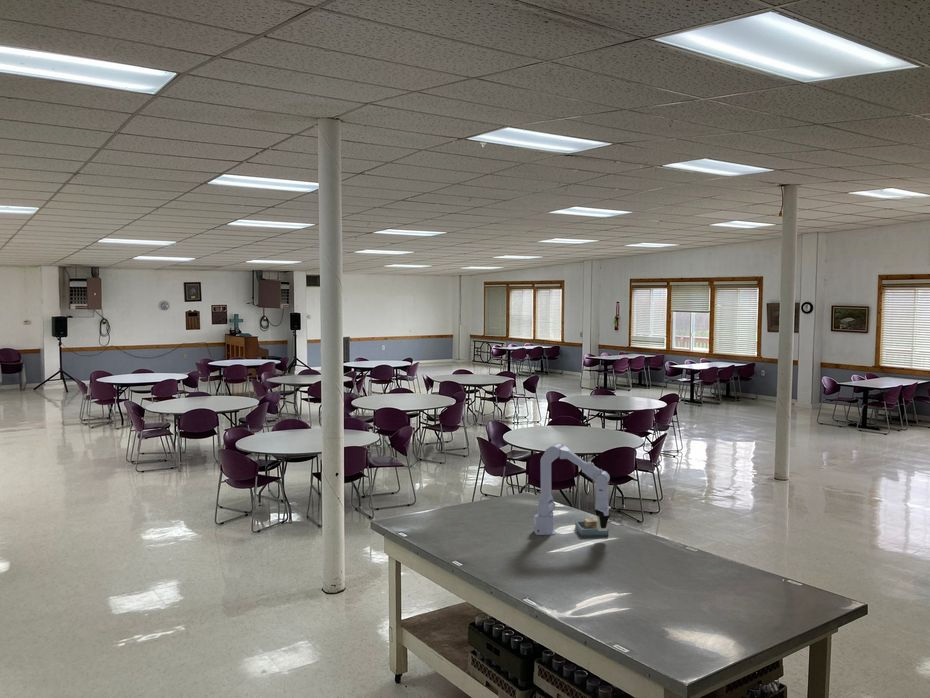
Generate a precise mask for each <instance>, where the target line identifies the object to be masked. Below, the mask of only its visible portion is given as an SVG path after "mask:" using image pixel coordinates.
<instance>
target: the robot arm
mask: <svg viewBox="0 0 930 698" xmlns="http://www.w3.org/2000/svg"><path fill="white" fill-rule="evenodd" d="M558 458H559V459H560V460H568V461H570V462H571V463H573V464H575V465H576V466H578V467H579V468H581V472H582V473H583V474H585V475H586V476H588V477H589V478H590V479H592V480H593V481H594V483H595V485H596V487H595V494H596V495H595V509H594V511H593V512H594V513H595V515H596V517H597V516H599V519H600V525H601V528H606V525H607V521H609V518H610V517H611V513H609V510H611V509H612V507H611V506H609V501H610V499H609V494H610V493H609V491H610V489H609V482H610V479H611V477H610V474H609V473H608V471H606V470H603V469H602V468H599V467H597V466H595V464H594V462H590V461H587V462H586V461H585V460H583V458H581V457H580V456H579V455H577V454H576V453H574V451H572V450H570V448H569V447H568V446H565V445H564V444H563V443H560V442H557V443H554V444H553V445H551V446H549V447H548V448H546V449H545V451H544V453H543V455H541V458H540V464H539V465H540V467H539V468H540V495H539V498H538V504H537V506H536V512H537V514H534V515H533V532H534V534H535V535H536V536H551V535H553V536H554V535H557V534H556V532H555V530H554V510H555V507H556V504H555V501H554V496H553V495H552V463H553V462H554V461H555V460H557V459H558Z"/></svg>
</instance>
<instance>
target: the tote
mask: <svg viewBox="0 0 930 698" xmlns="http://www.w3.org/2000/svg"><path fill="white" fill-rule="evenodd" d="M574 525H575V526H574V527H575V528H574V529H575V530H576V532H578V533H577V534H578V535H580V537H581V538H588V537H589V538H592V537H593V538H595V537H609V529H608V530H607V531H599V530H598V529H584V520H577V521H575V522H574Z"/></svg>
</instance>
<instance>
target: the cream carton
mask: <svg viewBox="0 0 930 698" xmlns="http://www.w3.org/2000/svg"><path fill="white" fill-rule="evenodd" d="M596 518H597V529H598V530H599V531H607V530H608V531H609V528H608V521H609V520H608V521H607V525H606V528H601V525H600V519H599V516H596Z"/></svg>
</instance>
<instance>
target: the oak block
mask: <svg viewBox="0 0 930 698" xmlns="http://www.w3.org/2000/svg"><path fill="white" fill-rule="evenodd" d="M583 521H584V529H597V517H596V518H594V517H592V518H589V517H587V518H584V520H583Z"/></svg>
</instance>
